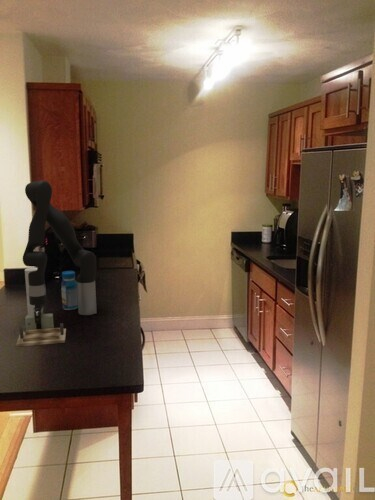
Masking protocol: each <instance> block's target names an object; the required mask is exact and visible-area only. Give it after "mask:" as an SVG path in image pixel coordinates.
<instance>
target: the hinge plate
mask: <svg viewBox="0 0 375 500" xmlns="http://www.w3.org/2000/svg"><path fill="white" fill-rule="evenodd" d="M66 334H67V328H64V323H63V322H61V323H59V327H54V328H48V329H35V330H26V329H25V331H24V327H23V326H19V335H18V337H17V342H16V345H15V347H16V348H17V347H18V348H20V347H28V346H40V345H41V346H42V345H52V344H53V345H54V344H64V343H66Z"/></svg>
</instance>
